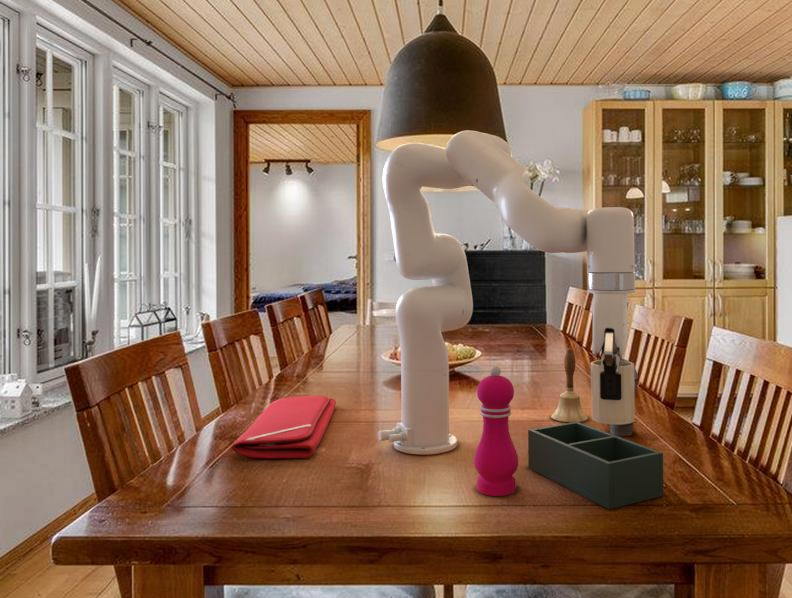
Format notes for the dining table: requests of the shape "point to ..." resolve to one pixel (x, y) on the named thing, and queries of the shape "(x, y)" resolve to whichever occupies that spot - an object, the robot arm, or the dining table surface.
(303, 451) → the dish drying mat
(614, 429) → the beverage cup
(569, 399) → the hand bell
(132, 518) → the dining table surface
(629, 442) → the storage box
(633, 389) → the cup
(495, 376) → the pepper mill
